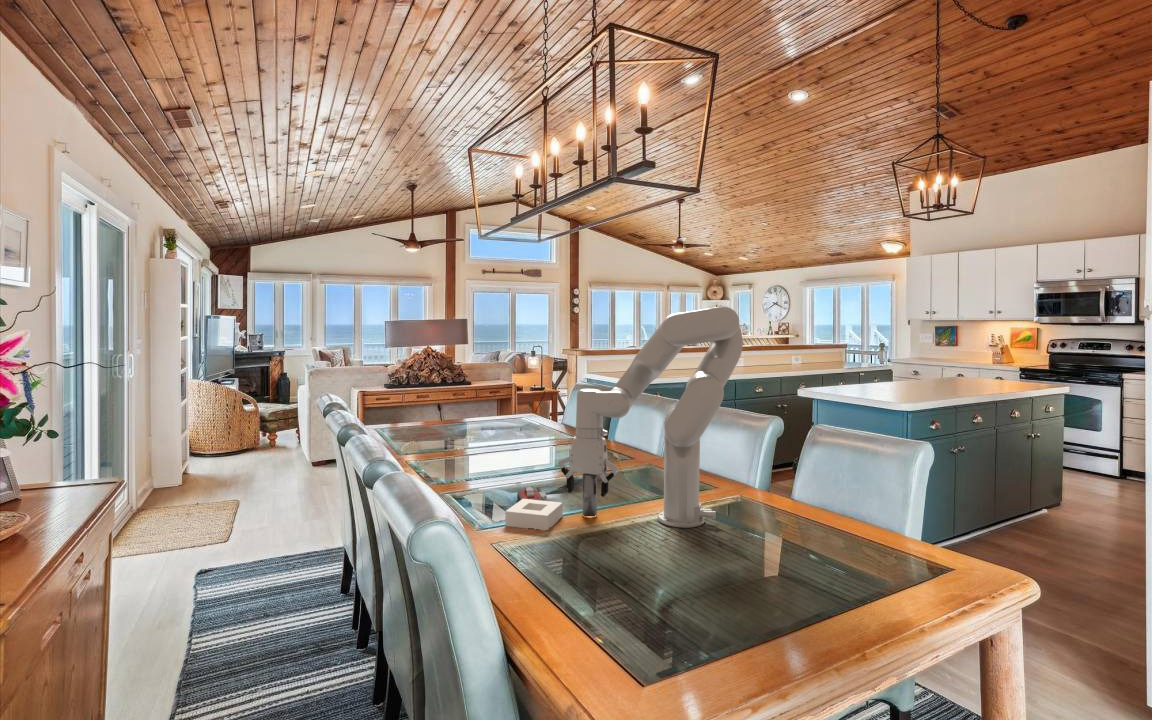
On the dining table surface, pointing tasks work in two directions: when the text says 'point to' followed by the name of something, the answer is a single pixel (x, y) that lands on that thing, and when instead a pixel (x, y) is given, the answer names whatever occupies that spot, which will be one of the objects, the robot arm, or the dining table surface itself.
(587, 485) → the peg
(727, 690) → the dining table surface
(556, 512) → the socket block
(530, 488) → the walkie-talkie
